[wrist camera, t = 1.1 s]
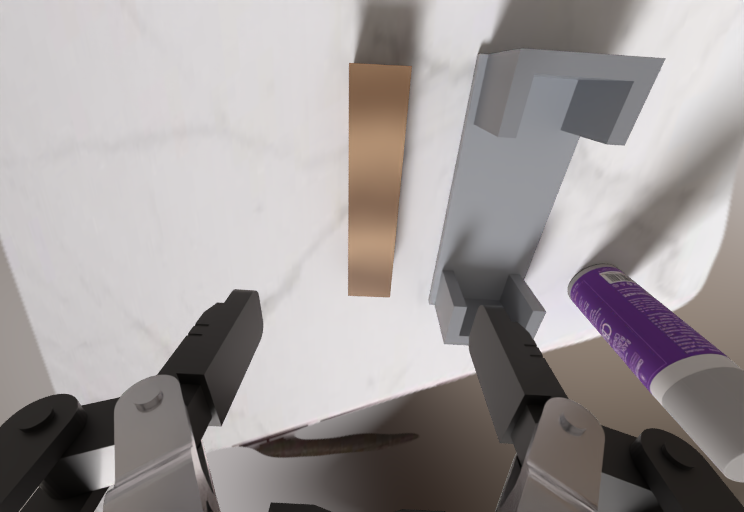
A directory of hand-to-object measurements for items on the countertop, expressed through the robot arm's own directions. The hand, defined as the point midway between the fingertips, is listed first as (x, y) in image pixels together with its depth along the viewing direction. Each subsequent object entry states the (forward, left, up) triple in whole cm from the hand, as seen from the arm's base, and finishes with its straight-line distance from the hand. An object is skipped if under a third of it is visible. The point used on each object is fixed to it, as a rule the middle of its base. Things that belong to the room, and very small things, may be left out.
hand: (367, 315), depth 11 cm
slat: (0, 0, -15) cm, 15 cm away
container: (+8, +21, -15) cm, 27 cm away
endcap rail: (+1, +10, -15) cm, 18 cm away
